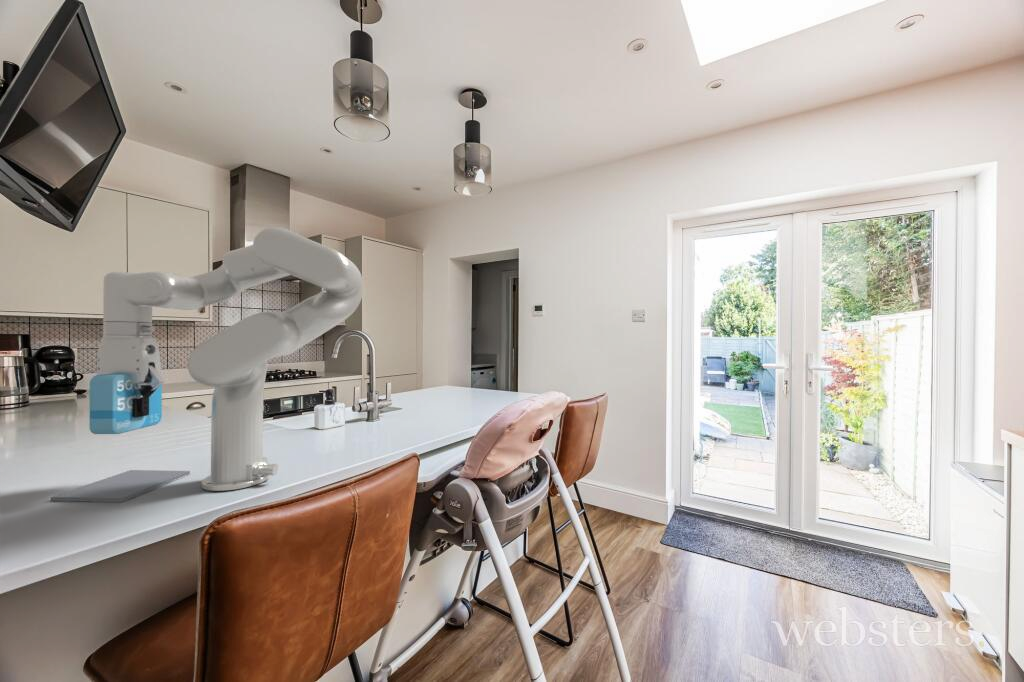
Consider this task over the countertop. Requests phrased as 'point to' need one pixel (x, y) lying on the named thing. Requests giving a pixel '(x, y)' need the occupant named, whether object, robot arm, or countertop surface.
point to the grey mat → (121, 486)
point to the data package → (119, 405)
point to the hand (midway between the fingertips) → (128, 415)
